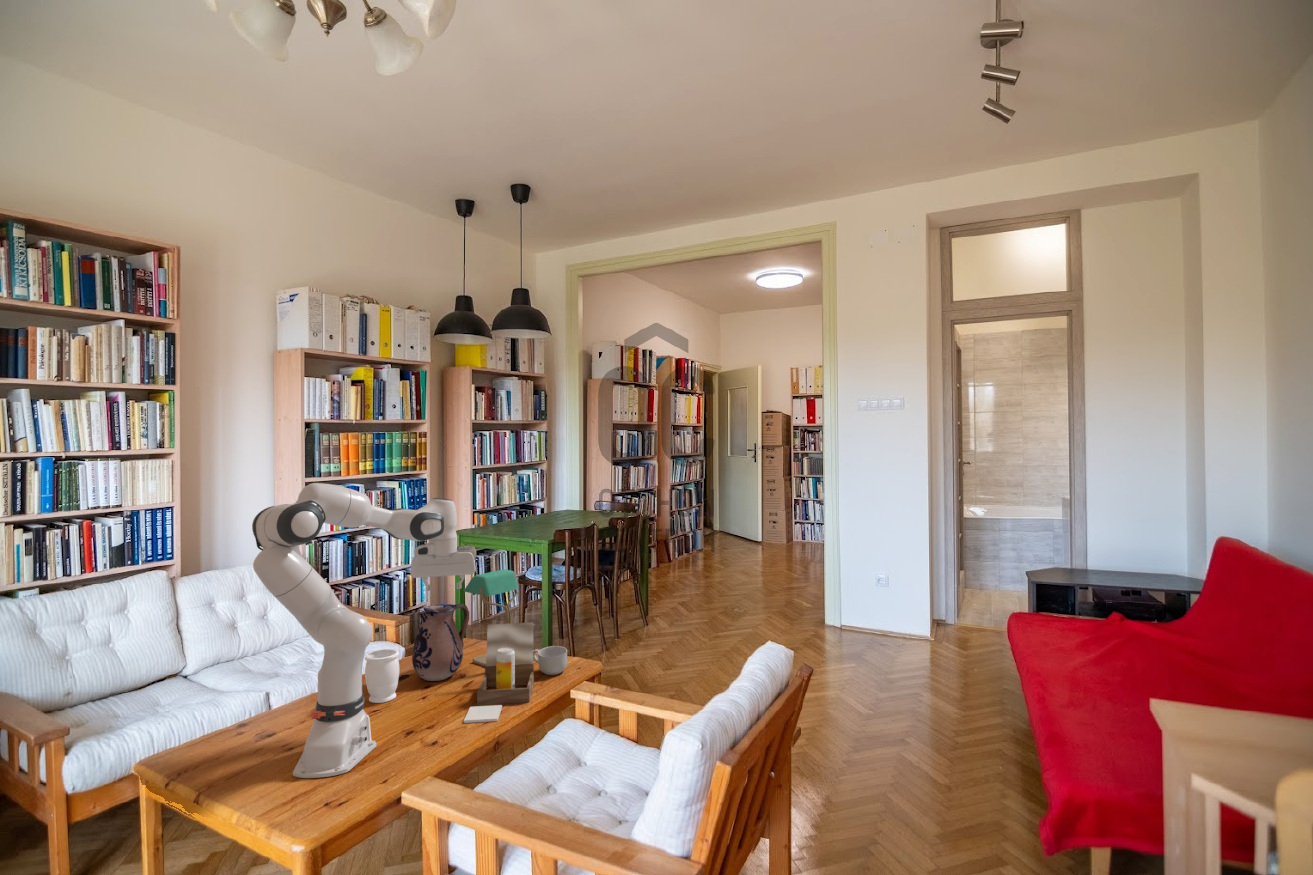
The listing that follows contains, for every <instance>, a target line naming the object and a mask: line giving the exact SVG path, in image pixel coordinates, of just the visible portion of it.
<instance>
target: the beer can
mask: <svg viewBox="0 0 1313 875" xmlns="http://www.w3.org/2000/svg"><path fill="white" fill-rule="evenodd" d="M515 686H516V685H515V652H514V649H513V648H509V647H506V648H500V649H498V650H497V653H496V686H495V689H513V688H516V687H515Z"/></svg>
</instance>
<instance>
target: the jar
mask: <svg viewBox="0 0 1313 875" xmlns="http://www.w3.org/2000/svg"><path fill="white" fill-rule="evenodd" d="M399 655H400V651H399V650H398V649H394V648H386V649H378V650H373V651H371V652H369V653H366V654H364V659H365V660H364V661H366V663H365V666H364V667H365V668H364V677H365V678H364V680H365V684H366V688H367V692H368V694H369V695H370V696H369V698H368V702H370V703H372V704H383V703H387V702H388V703H389V702H390V701H393V700H394V699H396V697H397V693H396V690H397V688H398V685H399V684H398V683H399V677H400V662H399V661H400V660H399V658H398V657H399Z"/></svg>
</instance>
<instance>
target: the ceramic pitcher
mask: <svg viewBox="0 0 1313 875" xmlns="http://www.w3.org/2000/svg"><path fill="white" fill-rule="evenodd" d="M422 609H423V610H421V611H419V612H418V614H419V626H418V628H417V632H416V636H415V638H414V639H415V640H414V643H413V647H412V653H411V661H412V666H413V669H414V672H415V673H416V674H417V675H418V676H419V677H420V678H422V679H423V680H425V681H429V682H436V681H437V682H438V681H439V682H440V681H445V680H447V679H448V678H450V677H451V676H453V675H454V674H455V673H456V672H457V671H458V670H459V668H460V666H462V662H463V658H464V646H465V645H464V637H465V635H466V631H467V628H468V625H469V621H470V610H469V608H468V606H467V605H465V604H464V603H457V604H451V603H449V604H448V603H440V604H439V603H438V604H433V605H432V604H431V605H428V606H425V607H423V608H422ZM457 609H462V611H463V613H464V616H463V622H462V626H461V629H460V631H459V630H458V628H457V625H456V622H455V619H454V614H455V611H456V610H457Z"/></svg>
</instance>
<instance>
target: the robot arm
mask: <svg viewBox="0 0 1313 875" xmlns="http://www.w3.org/2000/svg"><path fill="white" fill-rule="evenodd" d="M252 520H253V521H252V524H251V526H252V534H253V537H254V538H255V543H256V546H257V547H256V548H258V549H259V550H260V552H259V553H258V554H257V555H256V557H255V559H254V560H253V564H252V565H253V567H252V568H253V570H254V573H256V575H257V577H258V578H259V580H260V581H261V583H262V584H263V586H264V587H265V588H266V589H267V590H268V592H269V593H271V595H272V596H273V597H274V599H276V600H278V602H279V603H280V604H281V605H282V606H284V607H285V609H287V611H288V612H289V613H290V614H292V616H293V617H294V618H295V620H297V623H298V624H300V625H301V627H302V628H303V629H304V630H305V631H306V633H308V635H309V636H310V637H312V639H313V640H314V641H315V642H317V643H318V644H319V645H322V646H323V651H324V653H323V654H324V655H323V659H322V664H321V667H320V669H319V671H318V673H317V701H316V705H315V709H314V710H313V711H312V712H311V720H313V722H312V725H311V728H310V730H309V732H308V733H309V734H308V735H307V738H306V740H305V744H304V747H303V752H302V753H301V756H300V758H299V760H298V762H297V763H296V765H295V767H294V768H293V771H292V776H293V777H295V778H300V779H315V778H316V779H317V778H318V779H319V778H327V777H333V776H337V775H343V774H346V773H348V772H349V771H351V770H352V769H353V768H354V767H355V766H356V765H357V764H358V763H360V762H361V761H362V760H363V759H364V758H365V757H366V756H368V754H370V753H371V752H372V751H373V750H374V749H375V748H377V741H376V740H373V739H372V733H371V719H370V718H371V717H370V716H369V714H368V713H366V711H365V710H364V708H365V695H364V693H363V664H364V659H365V655H366V654H365V653H366V650H367V647H368V646H369V645H370V643H371V641H372V638H373V632H374V631H373V627H372V625H371V623H370V622H369V620H368V619H367V618H366V617H365V616H364V615H363V614H361V613H358V612H356V611H354V610H351V609H350V608H348V607H347V606H345V605H344V604H343V603H342V602H341V601H340V600H339V599H338V597H337V595H336V593H334V591H333V590H332V587H331V585H330V584H329V583H328V582H327V581H326V580H325V579H324V578H323V576H321V575H320V573H318V571H316V569H314V567H313V566H312V565H311V564H310V563H309V562H308V561H307V560H306V559H305V558H304V557H303V554H302V553H301V551H300V546H301V545H305V544H308V543H310V542H312V541H313V540H314V539H315V538H316V537H318V535H319V534H320V532H321V530H322V528H323V525H324V524H328V525H331V526H337V527H343V528H359V527H360V528H361V527H362V526H368V527H372V528H376V529H380V530H383V531H384V532H386V533H387V534H388V535H389V536H390V537H392V538H393V539H396V540H407V541H414V542H425V541H428V542H427V543H426V542H425V543H423V544H421V545H418V546H417V547H415V548H414V550H413V552H414V556H413V558H412V559H411V562H410V563H411V564H410V576H411V578H412V579H416V578H417V579H418V578H419V579H421V581H422V583H423V584H424V585H425V592H431V591H432V583H431V584H429V583H428V581H427V580H428V578H437V577H452V576H459V578H460V580H459V582H456V590H461V589H462V586H463V584H462V583H463V582H464V580H465V577H466V576H469V575H474V574H475V573H476V570H477V567H476V560H475V559H476V558H477V550H476V548H475V547H474V546H472V545H466V546H465V545H464V546H463V545H462V546H458V534H457V526H458V512H457V507H456V503H455V502H454V501H453V500H452V499H450V498H442V497H432V498H430V500H429V502H427V503H426V504H425V505H424V506H422V507H420V508H418V509H409V508H402V507H400V508H394V509H386V508H382V507H379V506H375V505H373V504H372V503H371V499H370V497H369V496H368V495H366V494H364V493H362V492H360V491H358V490H355V489H352V488H349V487H345V486H340V485H336V484H332V483H324V482H322V483H321V482H312V483H310V484H307V485H305V487H303V488H302V490H301V491H300V492H299V494H298V497H297V500H296V501H295V502H294V503H290V504H289V503H287V504H286V503H284V504H278V505H272V506H268V507H266V508H263V509H262V510H261V511H260V512H258V513H257V514H256V515H255V516H254V518H253V519H252Z"/></svg>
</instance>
